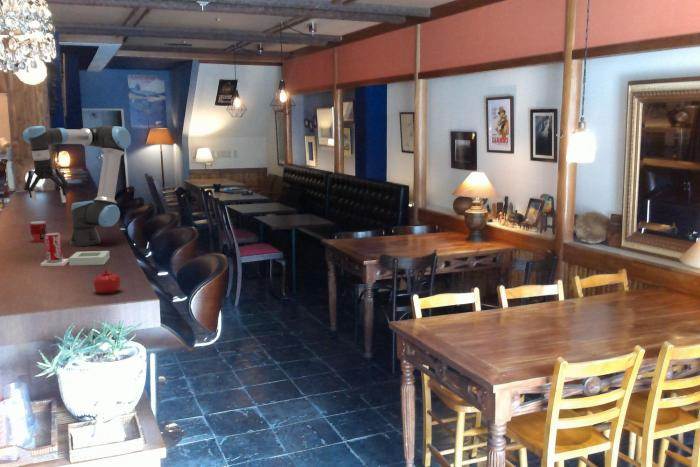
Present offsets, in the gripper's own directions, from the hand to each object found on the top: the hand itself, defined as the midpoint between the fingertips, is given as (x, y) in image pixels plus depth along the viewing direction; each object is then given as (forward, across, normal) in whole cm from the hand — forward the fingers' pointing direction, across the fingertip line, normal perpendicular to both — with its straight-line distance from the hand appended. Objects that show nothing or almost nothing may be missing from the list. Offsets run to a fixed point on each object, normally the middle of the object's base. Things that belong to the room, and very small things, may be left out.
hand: (49, 203), depth 305 cm
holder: (+27, +18, -11) cm, 35 cm away
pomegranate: (+26, +44, -67) cm, 85 cm away
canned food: (+27, -27, +42) cm, 57 cm away
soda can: (+25, +4, -15) cm, 30 cm away
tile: (+26, +4, -15) cm, 30 cm away
